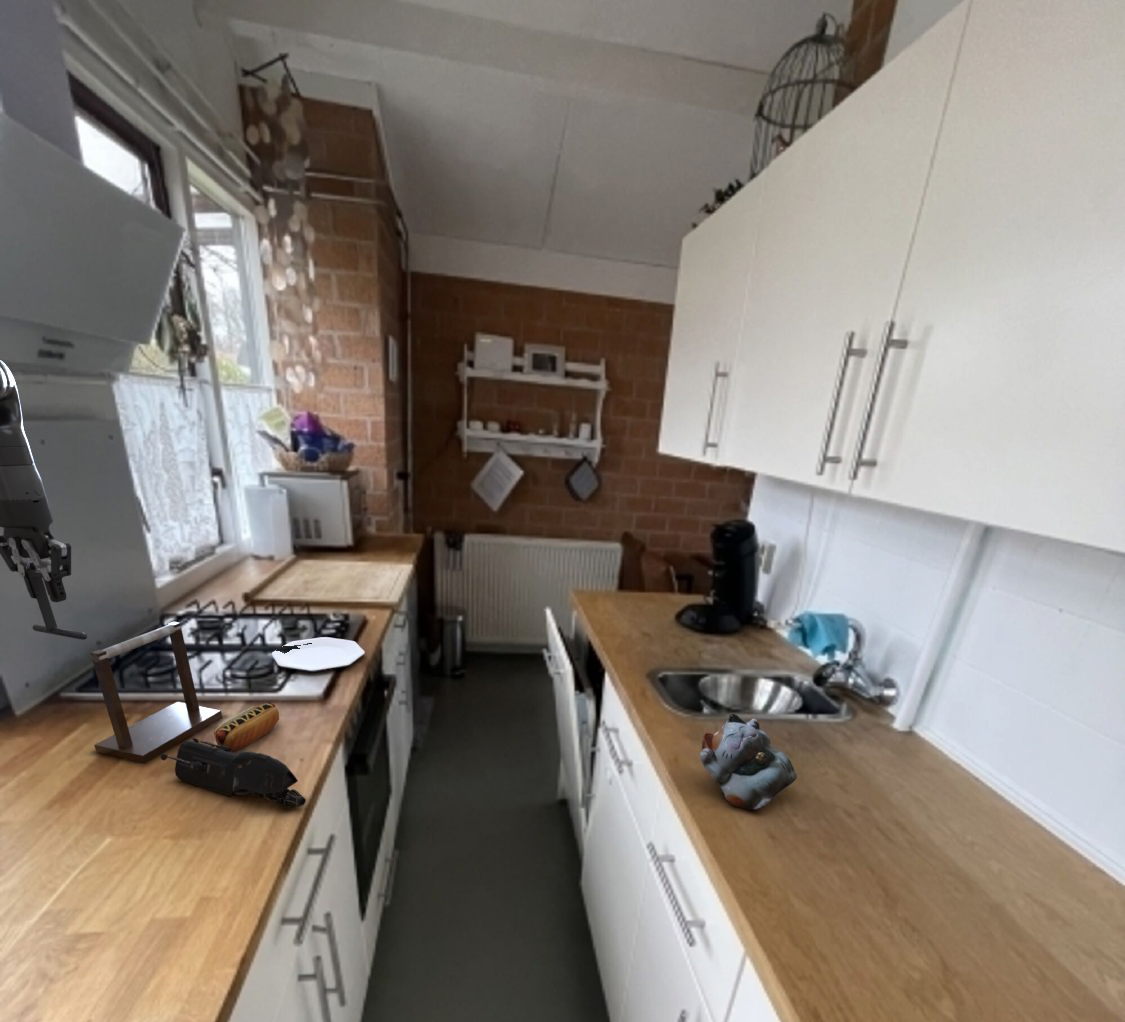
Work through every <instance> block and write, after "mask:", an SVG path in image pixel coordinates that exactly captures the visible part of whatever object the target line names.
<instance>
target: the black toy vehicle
mask: <svg viewBox="0 0 1125 1022" xmlns="http://www.w3.org/2000/svg"><path fill="white" fill-rule="evenodd" d="M191 739H192V740H184V741H182V742H181V743H180V745H179V747H178V749H177V755H176V756H172V755H169V754H166V753H165V752H163V753H161V754H160V759H161V760H162V761H166V760H167V759H171V760H173V761H175V766H174V774H175V776H176V777H177V779H178V780H179V781H182V782H185V783H188V784H191V785H194V786H196V787H201V788H204V789H207V790H209V791H212V792H216V793H219V794H222V795H225V796H229V797H231V798H234V797H236V795H237V796H239V795H240V796H245V795H249V794H251V793H252V795H253V796H255V797H258V798H261V799H266V800H269V801H270V802H271V803H275V804H278V805H284V807H285V808H287V809H291V808H297V807H302V806H305V804H306V801H307V800H306V798H305V797H304V796H303V795H302V794H301V793H300V792H299V791H298V790H297V789H292V788H291V789H289V788H290V787H291V786H294V785H295V784H297V783H298V782H299V780H298V778H297V777H296V776H295V775H294V773H293V772H292V771H291V769H290V768H289V767H288V766H287V765H286V764H285V763H284V762H282V761H281V760H279V759H277V758H274V757H272V756H271V755H267V754H264V753H261V752H254V751H241V752H238V753H237V754H236V753H233V752H232V751H231V749H230V748H229V747H227V746H223V745H222V746H220V745H217V744H215V743H213V742H209V741H205V740H202V739H199V738H196V737H192V738H191Z"/></svg>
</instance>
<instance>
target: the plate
mask: <svg viewBox="0 0 1125 1022" xmlns="http://www.w3.org/2000/svg"><path fill="white" fill-rule="evenodd" d="M307 643H312V644H308V645H303V644H307ZM294 645H301V646H297V647H298V648H300V649H292V650H290V651H289V652H287V653H285V654H284V653H282V652H280V651H276V650H274V651H272V653H271V656H272V658H273V660H274V662H275V663H276V665H277V666H278V667H280V668H281V669H288V670H289V669H290V670H296V671H303V672H310V673H316V672H322V670H323V671H328V670H327V669H329V670H333V669H332V668H335V669H340V668H347V667H350V666H352V664H354V663H355V662H356V661H358V660H359V659H360V658H362V657H363V656H364V655H366V652H365V650H364V649H363V648H362V647H361V646H360V645H359V644H358V643H357V642H356V641H354V640H350V639H349V640H348V639H342V638H335V637H328V636H323V637H314V638H307V639H299V640H293V641H290V642H288V643H286V644H284V645H283V646H294Z"/></svg>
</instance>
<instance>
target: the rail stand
mask: <svg viewBox="0 0 1125 1022" xmlns="http://www.w3.org/2000/svg"><path fill="white" fill-rule="evenodd" d="M167 636H169V638H170V639H169V640H170V643H171V648H172V652H173V656H174V660H175V664H176V669H177V673H178V678H179V681H180V686H181V687H180V688H181V692H182V696H183V699H184V702H181V701H176V702H174V703H172V704H171V705H168V706H167V707H164V708H162V709H160V710H159V711H157V712H155V713H153V714H151V715H149V716H147V717H145V718H143V719H141V720H139V721H138V722H135V723H133V724H132V725H128V723H127V719H126V716H125V712H124V708H123V706H122V701H121V698H120V696H119V691H118V687H117V684H116V681H115V677H114V673H113V670H112V666H111V664H110V660H109V659H111V658H114V657H117V656H119V655H122V654H124V653H126V652H129V651H132V650H134V649H137V648H140V647H142V646H144V645H148V644H149V643H152V642H155V641H158V640H160V639H163V638H164V637H167ZM187 651H188V650H187V647H186V643H185V637H184V634H183V630H182V625H181V622H177V621H172V622H169V623H167V624H166V625H164V626H161V627H159V628H156V629H153V630H151V631H148V632H146V633H143V634H141V635H138V636H135V637H132V638H130V639H127V640H125V641H122V642H120V643H116V644H113V645H110V646H109V647H105V648H103V649H97V650H94V651H91V652H90V653H89V654H90V658H91V661H92V663H93V667H94V670H95V674H96V678H97V681H98V684H99V687H100V689H101V694H102V698H103V701H104V704H105V707H106V711H107V713H108V717H109V720H110V724H111V728H112V731H113V735H111V736H109V737H106V738H105V739H103V740H101V741H99V742H97V743H95V744H94V745H93V746H94V749H95V752H96V753H99V754H102V755H107V756H111V757H116V758H120V759H124V760H129V761H133V762H138V763H141V764H142V763H143V764H146V763H148V762H149V761H151V760H153V759H154V758H156V757H158V756H161V754H162V753H165V752H166V751H169V750H170V749H172V748H173V747H175V746H176V745H178V744H181V743H183V742H184V741H186V739H189V738H191V737H192V736H193V735H195V734H197V733H199V732H200V731H202V730H203V729H205V728H207V727H209V726H210V725H212V724H214V723H216V722H217V721H218V720H221V719H222V718H223V713H222V710H221V709H215V708H211V707H205V706H200V705H199V701H198V695H197V691H196V687H195V683H194V678H193V674H192V669H191V665H190V661H189V656H188V652H187Z"/></svg>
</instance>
